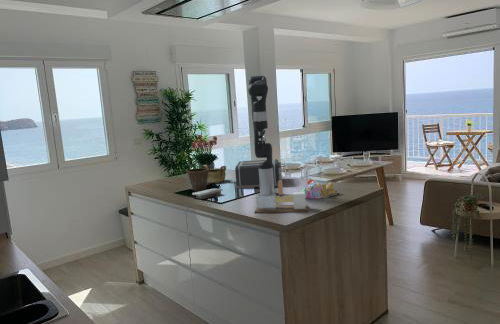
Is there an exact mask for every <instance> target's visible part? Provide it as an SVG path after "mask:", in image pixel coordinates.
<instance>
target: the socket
mask: <svg viewBox="0 0 500 324" xmlns="http://www.w3.org/2000/svg"><path fill="white" fill-rule="evenodd" d="M292 195H293V200H294V202H293V205H294V209H305V208H306V205H307V204H306V202H307V201H306V197H305V192H301V191H294V192H293V193H292Z"/></svg>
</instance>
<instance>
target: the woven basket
mask: <svg viewBox="0 0 500 324" xmlns="http://www.w3.org/2000/svg"><path fill="white" fill-rule="evenodd" d="M201 168H207V169H208V179H207V184H218V183H219V184H220V183H223V181H225V180H226V175H227V174H226V170H227V165H221V166H220V168H209V166H208V165H207V164H203V165H202V166H201Z"/></svg>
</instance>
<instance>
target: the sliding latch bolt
mask: <svg viewBox="0 0 500 324" xmlns="http://www.w3.org/2000/svg"><path fill="white" fill-rule="evenodd" d="M277 187H278V195H276V196H275V203H276V204H278V203H294V200H293V194H292V195H283V194H284V189H283V180H282V179H281V180H280V181H278V186H277Z"/></svg>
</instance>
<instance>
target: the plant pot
mask: <svg viewBox="0 0 500 324" xmlns="http://www.w3.org/2000/svg"><path fill="white" fill-rule="evenodd" d="M186 172H187V175H188V179H189V183H190V185H191V187H192V190H193V191H194V192H200V191H204V190H207V185H208V182H207V179H208V169H207V168H202V167H201V168H200V167H199V168H198V167H197V168H192V169H188V170H187V171H186Z"/></svg>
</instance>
